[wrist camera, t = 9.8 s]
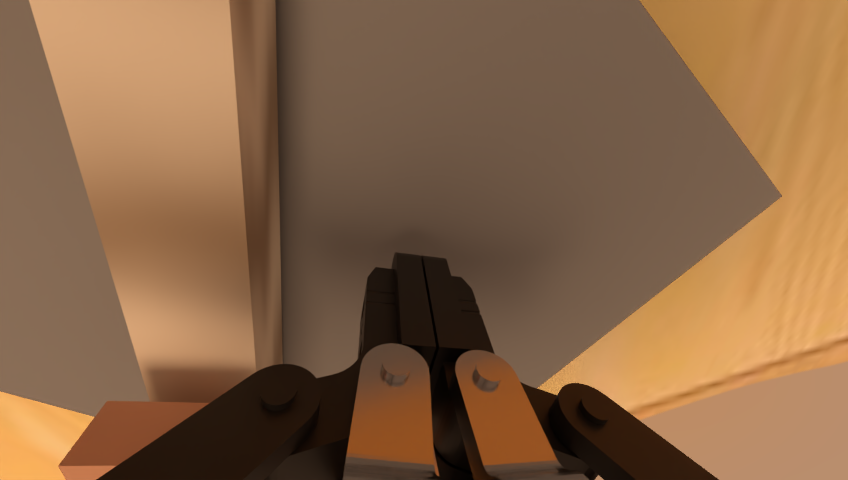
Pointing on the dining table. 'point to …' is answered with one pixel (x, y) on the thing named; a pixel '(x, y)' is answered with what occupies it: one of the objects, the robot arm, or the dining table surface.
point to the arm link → (179, 176)
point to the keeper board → (395, 191)
